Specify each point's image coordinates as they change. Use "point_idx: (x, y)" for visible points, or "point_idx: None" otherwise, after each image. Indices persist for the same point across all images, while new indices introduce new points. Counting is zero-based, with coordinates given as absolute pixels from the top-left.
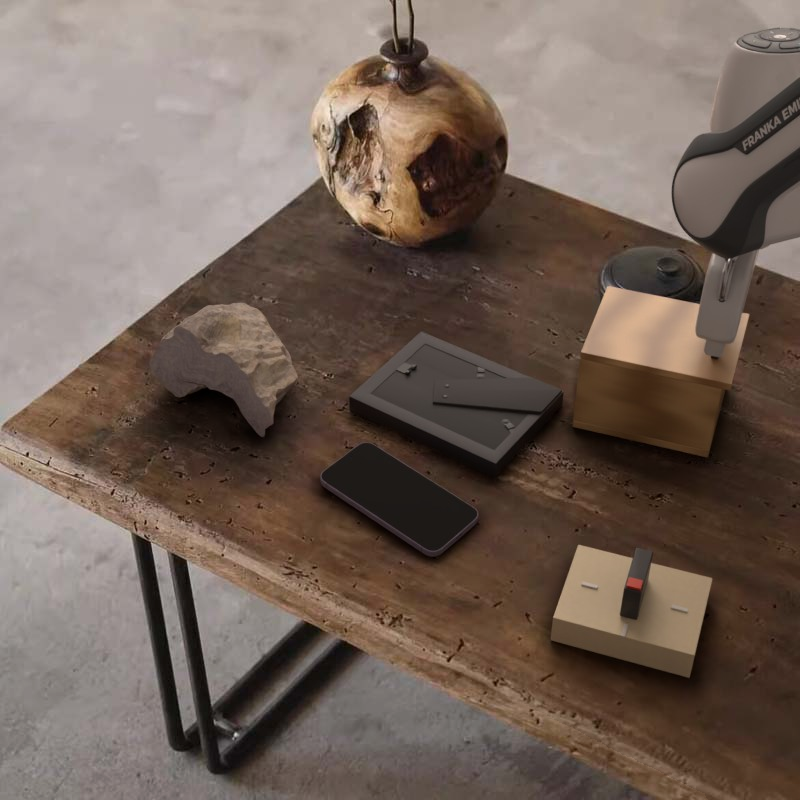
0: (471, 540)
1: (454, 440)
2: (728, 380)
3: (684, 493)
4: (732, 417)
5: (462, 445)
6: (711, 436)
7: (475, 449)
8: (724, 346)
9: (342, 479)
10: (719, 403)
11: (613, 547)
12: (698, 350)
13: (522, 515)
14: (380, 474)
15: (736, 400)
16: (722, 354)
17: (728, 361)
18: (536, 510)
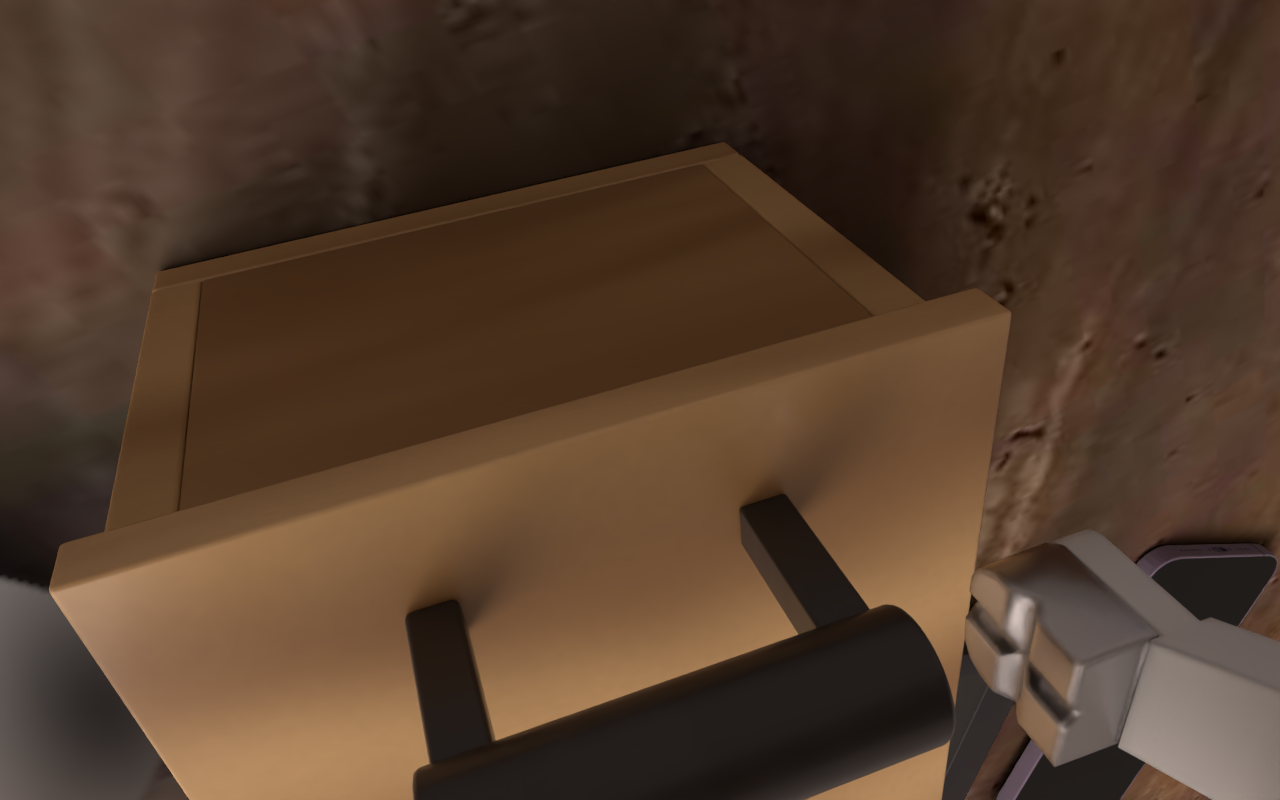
0: (1210, 522)
1: (983, 744)
2: (981, 345)
3: (949, 139)
4: (383, 147)
5: (994, 724)
6: (781, 188)
7: (1004, 699)
8: (1165, 594)
9: (1111, 784)
10: (778, 270)
11: (1218, 236)
12: (738, 610)
13: (1123, 485)
14: (1085, 756)
15: (231, 181)
16: (1104, 539)
17: (781, 432)
18: (1101, 470)
